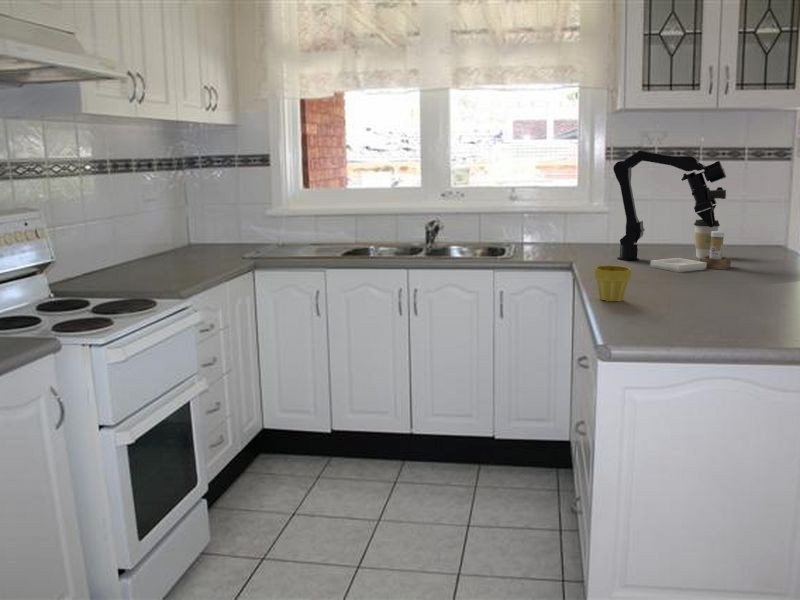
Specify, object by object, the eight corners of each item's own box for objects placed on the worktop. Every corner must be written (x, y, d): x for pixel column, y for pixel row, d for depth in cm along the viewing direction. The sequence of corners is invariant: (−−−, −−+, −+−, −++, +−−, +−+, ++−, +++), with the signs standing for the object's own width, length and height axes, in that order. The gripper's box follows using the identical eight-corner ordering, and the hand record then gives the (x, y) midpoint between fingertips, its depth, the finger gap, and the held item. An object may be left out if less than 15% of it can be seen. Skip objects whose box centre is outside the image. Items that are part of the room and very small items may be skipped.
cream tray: (650, 266, 293) (650, 260, 293) (677, 264, 300) (677, 257, 299) (678, 272, 281) (679, 265, 281) (706, 269, 288) (706, 262, 287)
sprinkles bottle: (706, 267, 292) (709, 231, 290) (710, 265, 296) (713, 230, 293) (719, 268, 289) (722, 232, 287) (723, 266, 293) (726, 231, 290)
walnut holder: (699, 267, 292) (700, 258, 291) (705, 264, 299) (706, 255, 298) (724, 269, 286) (725, 260, 286) (730, 266, 294) (731, 257, 293)
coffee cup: (719, 259, 312) (722, 221, 309) (693, 258, 314) (696, 221, 311) (714, 255, 321) (717, 219, 318) (689, 255, 323) (692, 219, 320)
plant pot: (631, 303, 228) (633, 271, 226) (594, 302, 229) (596, 270, 227) (627, 297, 237) (629, 265, 236) (592, 296, 239) (594, 264, 237)
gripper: (718, 180, 283) (733, 220, 283) (722, 178, 299) (736, 216, 299) (687, 192, 288) (702, 231, 289) (693, 189, 305) (707, 226, 305)
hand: (713, 225), depth 295 cm, fingers open, 9 cm apart
